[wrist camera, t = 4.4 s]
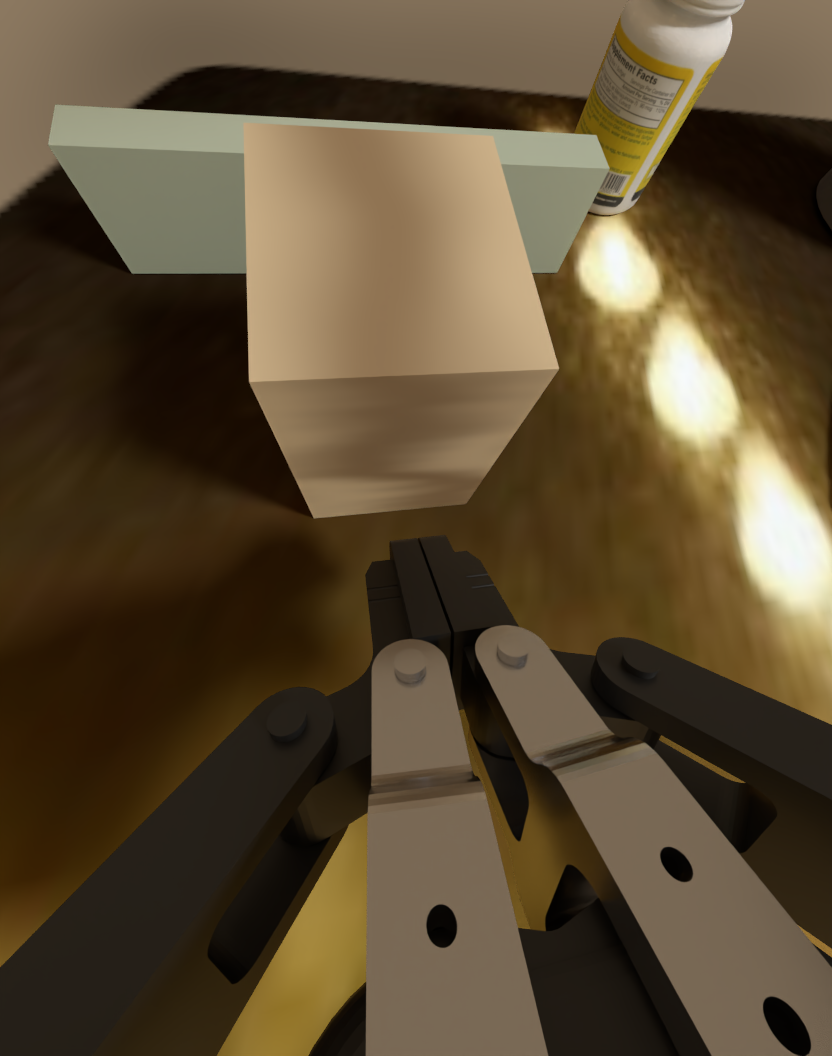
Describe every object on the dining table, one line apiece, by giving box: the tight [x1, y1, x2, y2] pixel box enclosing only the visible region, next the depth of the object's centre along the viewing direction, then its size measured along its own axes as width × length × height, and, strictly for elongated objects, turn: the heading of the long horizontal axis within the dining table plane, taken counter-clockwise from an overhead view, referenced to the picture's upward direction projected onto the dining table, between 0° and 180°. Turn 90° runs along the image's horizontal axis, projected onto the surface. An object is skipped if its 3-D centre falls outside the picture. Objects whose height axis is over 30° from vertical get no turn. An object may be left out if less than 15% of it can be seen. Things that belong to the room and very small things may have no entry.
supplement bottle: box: [574, 0, 745, 215], centre depth 18 cm, size 5×5×8 cm
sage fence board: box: [48, 105, 610, 274], centre depth 16 cm, size 20×2×4 cm, turn 98°
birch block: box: [243, 123, 559, 518], centre depth 12 cm, size 6×7×8 cm
